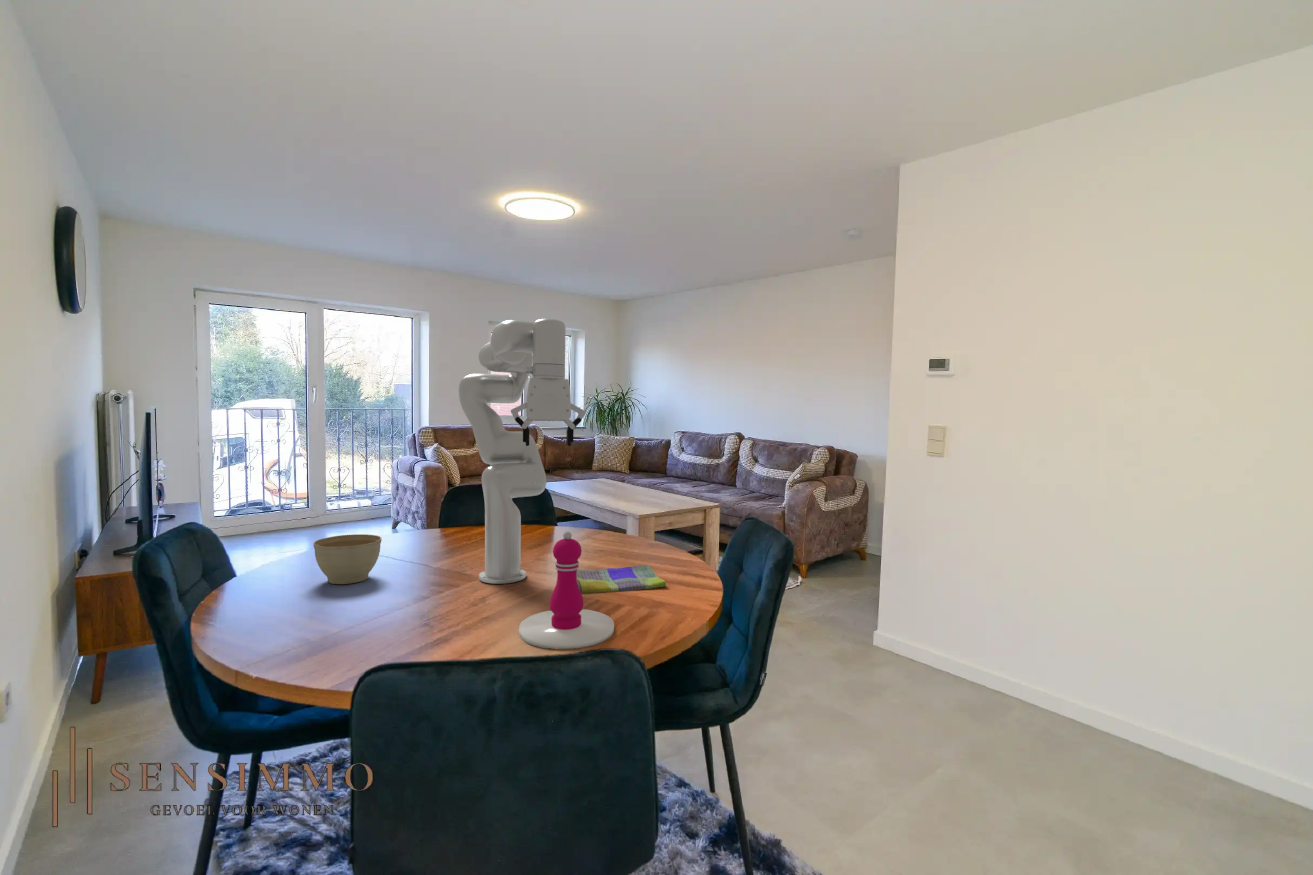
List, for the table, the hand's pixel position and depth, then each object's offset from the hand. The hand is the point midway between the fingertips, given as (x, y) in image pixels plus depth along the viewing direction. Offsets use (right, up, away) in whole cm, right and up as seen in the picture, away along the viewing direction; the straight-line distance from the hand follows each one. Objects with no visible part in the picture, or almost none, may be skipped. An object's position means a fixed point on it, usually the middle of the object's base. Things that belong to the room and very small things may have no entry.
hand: (548, 445), depth 140 cm
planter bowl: (-57, -37, +19) cm, 70 cm away
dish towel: (+15, -38, +22) cm, 47 cm away
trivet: (+7, -39, -14) cm, 42 cm away
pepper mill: (+6, -38, -14) cm, 41 cm away
